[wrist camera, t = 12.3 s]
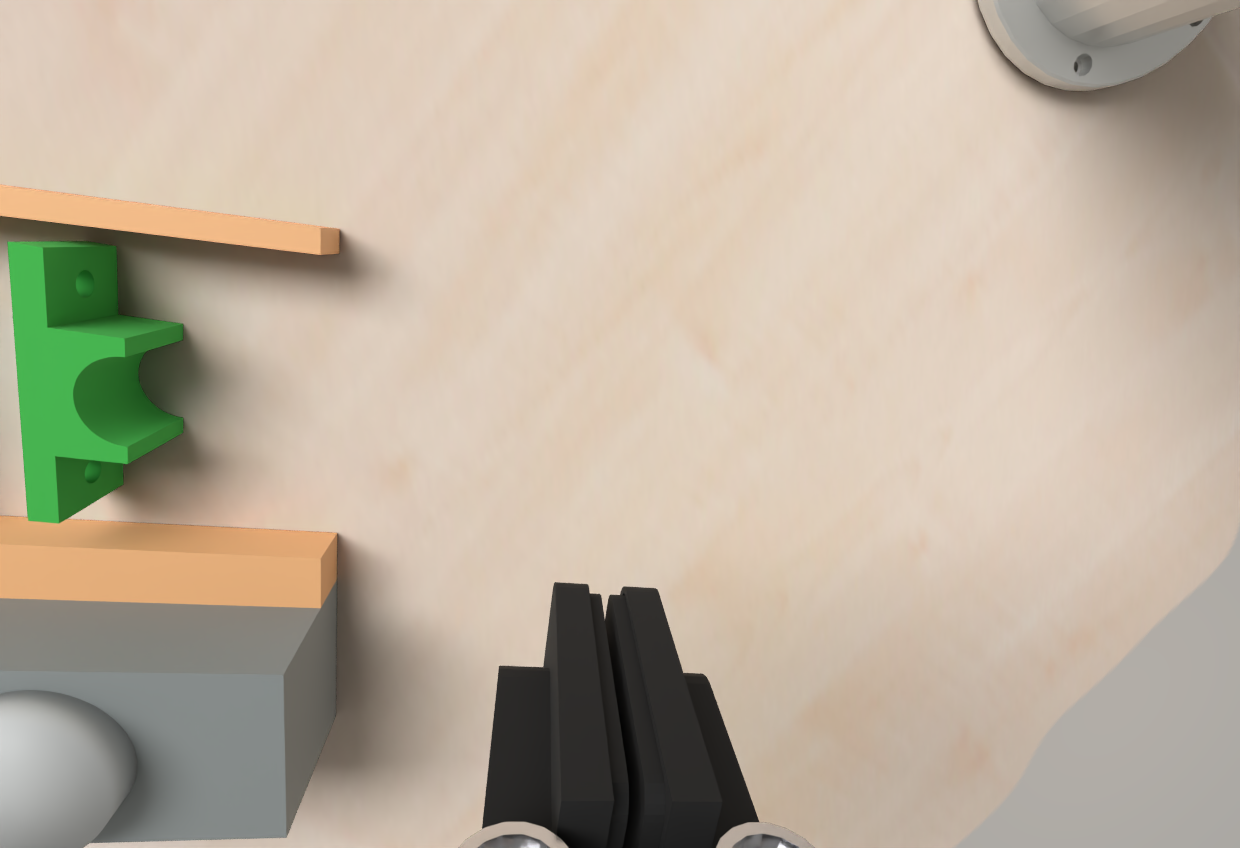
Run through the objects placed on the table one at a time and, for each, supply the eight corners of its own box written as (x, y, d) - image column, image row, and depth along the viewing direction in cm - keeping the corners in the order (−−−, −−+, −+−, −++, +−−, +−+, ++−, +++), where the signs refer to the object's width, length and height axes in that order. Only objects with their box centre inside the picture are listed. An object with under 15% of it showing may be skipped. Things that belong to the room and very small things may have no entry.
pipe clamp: (187, 488, 28) (129, 531, 24) (100, 479, 28) (27, 522, 24) (184, 255, 26) (120, 260, 22) (88, 239, 25) (3, 241, 21)
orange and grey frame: (-145, 166, 23) (-507, 126, 15) (339, 228, 26) (254, 224, 18) (-42, 713, 30) (-256, 891, 22) (335, 715, 32) (272, 872, 24)
